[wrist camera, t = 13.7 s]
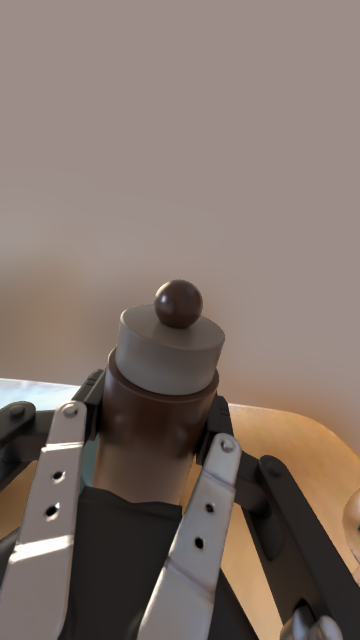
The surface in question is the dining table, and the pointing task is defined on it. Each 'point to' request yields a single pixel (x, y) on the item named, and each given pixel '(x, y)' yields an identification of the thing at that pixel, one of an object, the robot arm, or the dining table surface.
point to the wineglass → (353, 528)
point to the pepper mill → (157, 396)
